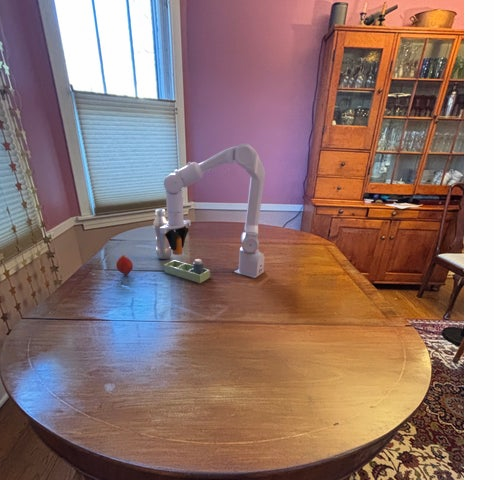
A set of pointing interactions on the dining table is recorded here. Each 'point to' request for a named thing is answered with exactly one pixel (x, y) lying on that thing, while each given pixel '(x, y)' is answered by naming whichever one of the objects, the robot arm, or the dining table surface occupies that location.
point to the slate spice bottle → (198, 266)
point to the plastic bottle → (161, 236)
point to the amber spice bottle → (178, 246)
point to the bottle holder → (185, 271)
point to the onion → (124, 265)
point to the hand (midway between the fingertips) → (177, 248)
